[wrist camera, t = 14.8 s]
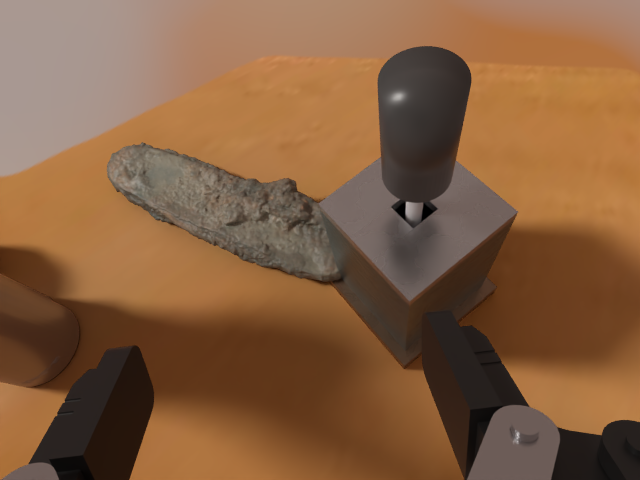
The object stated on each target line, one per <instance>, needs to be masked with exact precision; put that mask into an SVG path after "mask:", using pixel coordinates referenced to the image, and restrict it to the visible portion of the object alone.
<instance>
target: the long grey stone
mask: <svg viewBox="0 0 640 480" xmlns="http://www.w3.org/2000/svg"><path fill="white" fill-rule="evenodd" d="M107 172H108V173H107V174H108V178H109V180H110V181H111V183H112V184H113V186H114V187H115V189H116V191H117V192H121V193H122V194H123V195H124V196H125V197H126V198H127V199H128V201H130V202H132V203H133V204H135V205H138V206H141V207H142V208H143V209H144V210H146V211H148V212H149V213H150V214H151V216H153V217H154V218H155V219H156V220H161V221H162V222H168V223H173V224H175V225H176V226H178V227H180V228H182V229H184V230H186V231H188V232H189V233H190V234H192V235H193V236H196V237H197V238H198V239H203V240H205V241H206V242H209V243H210V244H212V245H214V246H216V245H218V246H219V247H220V248H222V249H225V250H227V251H229V252H231V253H233V254H234V255H237V256H239V258H240V259H242V260H244V261H248V262H250V263H256V264H258V265H260V266H262V267H271V268H279V269H280V270H281V271H285V272H287V273H289V274H291V275H295V276H297V277H299V278H307V279H314V280H320V281H322V282H328V281H331V282H332V281H334V280H338V279H342V277H341V274H340V273H339V271H338V269H337V266H336V263H335V259H334V256H333V252H332V249H331V246H330V242H329V239H328V236H327V232H326V229H325V225H324V222H323V219H322V215H321V212H320V209H319V205H318V204H319V203H317V202H316V201H314V200H313V199H312V198H309V197H307V196H306V195H304V194H303V193H301V192H298V191H297V188H296V182H295V181H294V180H291V179H289V178H287V179H285V178H284V179H281V180H278V181H273V182H272V183H260V182H259V181H258V180H256V179H247V180H245V179H244V178H240V177H236V176H233V175H230V174H228V173H227V172H226V171H225V170H220V169H219V168H218V167H215V166H214V165H211V164H209V163H205V162H202V161H200V160H198V159H196V158H195V157H188V156H187V155H185V154H183V155H182V154H178V153H177V152H176V151H173V150H170V149H165V150H162V149H159V148H153V147H152V146H151V145H146V144H145V143H143V142H142V143H141V144H140V145H132V146H127V147H123V148H122V149H121V150H120V151H118V152H116V153H113V154H112V155H111V159H110V161H109V162H108V165H107Z"/></svg>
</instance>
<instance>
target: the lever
mask: <svg viewBox="0 0 640 480" xmlns="http://www.w3.org/2000/svg"><path fill="white" fill-rule="evenodd" d="M470 86H471V73H470V70H469V68H468V66H467V64H466V63H465V62H464V60H463V59H462V58H460V57H459V56H458V55H456V54H455V53H453V52H451V51H449V50H446V49H443V48H439V47H432V46H424V47H423V46H422V47H415V48H411V49H407V50H405V51H402V52H400V53H398V54H396V55H394V56H393V57H392V58H390V59H389V60H388V61H387V62H386V63H385V64H384V66H383V67H382V69H381V71H380V73H379V76H378V102H379V124H380V145H381V167H382V180H383V183H384V185H385V187H386V188H387V190H388V191H389V192H390V193H391V194H392V195H393V196H395V197H397V198H398V199H401V200H403V201H406V213H405V221H406V222H407V223H408V224H409V225H410V226H411V227H412V228H415V227H416V226H417V225H418V224H420V223H421V219H422V210H423V202H428V201H431V200H434V199H436V198H437V197H439V196H440V195H442V194H443V193H444V192H445V191H446V190H447V189H448V187H449V185H450V183H451V181H452V176H453V171H454V166H455V161H456V156H457V151H458V146H459V141H460V136H461V131H462V126H463V121H464V116H465V111H466V106H467V101H468V96H469V91H470Z"/></svg>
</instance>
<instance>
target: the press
mask: <svg viewBox="0 0 640 480" xmlns="http://www.w3.org/2000/svg"><path fill="white" fill-rule="evenodd" d="M318 205H319V209H320V212H321V215H322V219H323V222H324V225H325V229H326V232H327V236H328V239H329V242H330V246H331V249H332V252H333V256H334V259H335V263H336V266H337V269H338V271H339V273H340V274H341V277H342V279H338V280H334V281H332V282H331V281H329V282H330V283H331V284H332V286H333V287H334V288H335V289H336V290H337V291H338V293H339V294H340V295H341V296H342V297H343V298H344V299H345V301H346V302H347V303H348V304H349V305H350V306H351V308H352V309H353V310H354V311H355V312H356V313H357V315H358V316H359V317H360V318H361V319H362V320H363V322H364V323H365V324H366V325H367V326H368V327H369V329H370V330H371V331H372V332H373V333H374V334H375V336H376V337H377V338H378V339H379V340H380V341H381V343H382V344H383V345H384V346H385V347H386V348H387V350H388V351H389V352H390V353H391V354H392V355H393V357H394V358H395V359H396V360H397V361H398V362H399V364H400V365H401V366H402V367H403V368H404V369H405V368H406V367H407V366H408V365H409V364H410V363H412V362H413V361H414V360H415V359H416V358H418V357H419V356H420V355H421V354H422V315H423V313H425V312H434V311H442V310H450V311H451V312H452V313H453V315H454V317H455V319H456V321H457V323H459V322H460V321H461V320H462V319H463V318H464V317H466V316H467V315H468V314H469V313H470V312H471V311H473V310H474V309H475V308H476V307H477V306H478V305H480V304H481V303H482V302H483V301H484V300H485V299H487V298H488V297H489V296H490V295H491V294H492V293H494V291H495V290H496V288H497V286H495V285H494V284H493V283H492V282H491V281H490V280H489V279H488V278H487V275H488V273H489V270H490V268H491V266H492V264H493V262H494V260H495V258H496V256H497V254H498V252H499V250H500V248H501V246H502V244H503V242H504V240H505V238H506V236H507V234H508V232H509V230H510V227H511V225H512V223H513V221H514V219H515V217H516V215H517V213H518V211H516V210H515V209H514V208H513V207H512V206H510V205H509V204H508V203H507V202H506V201H504V200H503V199H502V198H501V197H500V196H498V195H497V194H496V193H495V192H493V191H492V190H491V189H490V188H489V187H487V186H486V185H485V184H484V183H483V182H481V181H480V180H479V179H478V178H477V177H475V176H474V175H473V174H472V173H471V172H469V171H468V170H467V169H466V168H464V167H463V166H462V165H461V164H460V163H458V162H457V161H455V166H454V171H453V176H452V181H451V183H450V185H449V187H448V189H447V190H446V191H445V192H444V193H443V194H442V195H440V196H439V197H437V198H436V199H434V200H431V201H428V202H423V210H422V219H421V223H420V224H418V225H417V226H416V227H415V228H412V227H411V226H410V225H409V224H408V223H407V222H406V221H405V213H406V201H403V200H401V199H398V198H397V197H395V196H393V195H392V194H391V193H390V192H389V191H388V190H387V188H386V187H385V185H384V183H383V180H382V167H381V157H380V158H379V159H377V160H376V161H375V162H373V163H372V164H371V165H369V166H368V167H367V168H365V169H364V170H363V171H361V172H360V173H359V174H357V175H356V176H355V177H353V178H352V179H351V180H349V181H348V182H347V183H345V184H344V185H343V186H341V187H340V188H339V189H337V190H336V191H335V192H333V193H332V194H331V195H329V196H328V197H327V198H325V199H324V200H323V201H321V202H320V203H319V204H318Z"/></svg>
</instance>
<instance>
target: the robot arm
mask: <svg viewBox="0 0 640 480" xmlns="http://www.w3.org/2000/svg"><path fill="white" fill-rule="evenodd" d="M78 341H79V325H78V321H77V319H76V317H75V315H74V314H73V313H72V312H71V311H70V309H68V308H66V307H64V306H63V305H60V304H58V303H56V302H54V301H52V300H51V298H50V297H48V296H46V295H44V294H42V293H40V292H38V291H36V290H34V289H32V288H30V287H27V286H25V285H23V284H21V283H19V282H17V281H15V280H13V279H11V278H9V277H7V276H5V275H3V274H0V382H3V383H8V384H12V385H17V386H23V387H32V386H38V385H41V384H43V383H46V382H48V381H49V380H51V379H53V378H54V377H56V376H57V375H58V374H59V373H60V372H61V371H63V369H64V368H65V367H66V366H67V365H68V363H69V362H70V360H71V359H72V357H73V355H74V353H75V351H76V348H77V346H78ZM422 364H423V370H424V374H425V377H426V380H427V382H428V385H429V388H430V390H431V393H432V396H433V398H434V401H435V403H436V406H437V409H438V411H439V414H440V417H441V419H442V422H443V424H444V427H445V430H446V432H447V435H448V438H449V440H450V443H451V445H452V448H453V451H454V453H455V456H456V458H457V461H458V464H459V466H460V469H461V472H462V474H463V477H464V479H465V480H640V422H636V421H630V420H619V421H614V422H611V423H610V424H608V425H607V426H606V427H605V428H604V430H603V432H602V435H595V434H589V433H582V432H575V431H569V430H565V429H562V428H558V427H556V425H555V424H554V423H553V422H552V420H551V419H549V418H548V417H547V416H546V415H544V414H543V413H541V412H540V411H538V410H536V409H533V408H530V407H529V405H528V404H527V402H526V400H525V399H524V397H523V396H522V394H521V392H520V391H519V389H518V387H517V386H516V384H515V382H514V381H513V379H512V378H511V376H510V374H509V373H508V371H507V369H506V368H505V366H504V365H503V364H502V363H501V360H500V358H499V356H498V355H497V353H495V350H494V348H493V347H492V345H491V343H490V342H489V340H488V339H487V337H486V336H485V335H484V334H482V333H481V332H480V331H478V330H477V329H476V328H474V327H473V326H472V325H471V326H463V327H460V326H459V324H458V323H457V321H456V319H455V317H454V315H453V313H452V312H451V311H450V310H442V311H434V312H425V313H423V315H422ZM153 404H154V391H153V386H152V383H151V380H150V377H149V374H148V371H147V368H146V365H145V362H144V359H143V357H142V354H141V351H140V349H139V347H138V346H128V347H119V348H110V349H108V350H106V352H105V353H104V355H103V357H102V359H101V361H100V363H99V365H98V367H97V369H90V370H88V371H87V372H86V373H85V374H84V375H83V376H82V377H81V378H80V379H79V380H78V381H76V382H75V383H74V384H73V386H72V388H71V390H70V391H69V393H68V395H67V397H66V399H65V403H63V404H62V406H61V407H60V409H59V411H58V413H57V414H58V415H57V416H55V418H54V420H53V422H52V423H51V425H50V427H49V429H48V430H47V432H46V434H45V436H44V437H43V439H42V441H41V443H40V445H39V446H38V448H37V450H36V452H35V453H34V455H33V457H32V459H31V460H30V462H29V464H28V465H25V466H23V467H20V468H18V469H16V470H15V471H13V472H11V473H10V474H8V475H7V476H6V477H4V478H3V479H2V480H129V479H130V476H131V473H132V470H133V467H134V464H135V461H136V458H137V455H138V452H139V449H140V446H141V443H142V440H143V437H144V434H145V431H146V428H147V425H148V421H149V418H150V415H151V412H152V409H153Z"/></svg>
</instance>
